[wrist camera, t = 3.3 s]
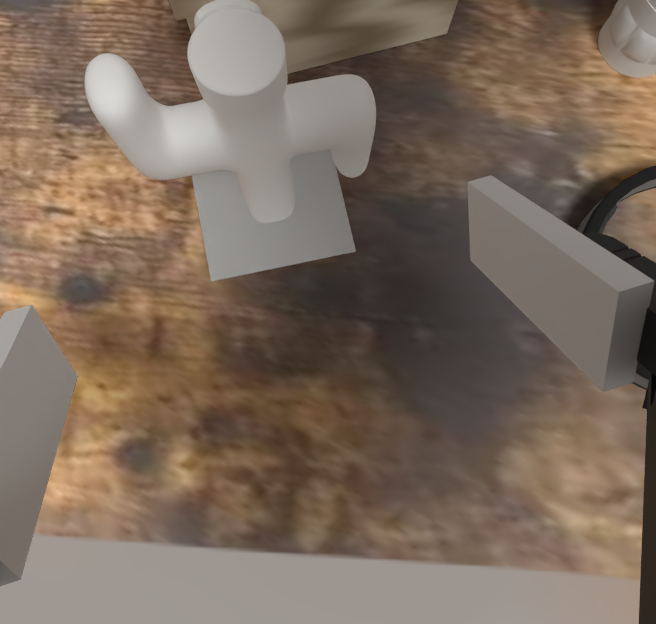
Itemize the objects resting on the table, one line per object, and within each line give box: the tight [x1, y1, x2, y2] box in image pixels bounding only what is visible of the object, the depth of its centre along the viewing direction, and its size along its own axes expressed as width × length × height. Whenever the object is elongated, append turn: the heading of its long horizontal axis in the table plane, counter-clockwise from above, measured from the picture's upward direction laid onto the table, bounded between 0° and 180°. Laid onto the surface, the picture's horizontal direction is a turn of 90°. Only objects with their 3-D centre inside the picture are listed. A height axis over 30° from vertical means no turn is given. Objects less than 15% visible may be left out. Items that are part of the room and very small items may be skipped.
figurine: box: [85, 0, 376, 281], centre depth 22 cm, size 7×9×15 cm
